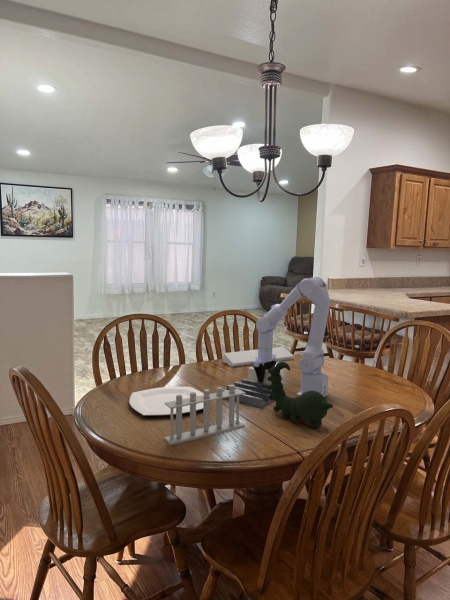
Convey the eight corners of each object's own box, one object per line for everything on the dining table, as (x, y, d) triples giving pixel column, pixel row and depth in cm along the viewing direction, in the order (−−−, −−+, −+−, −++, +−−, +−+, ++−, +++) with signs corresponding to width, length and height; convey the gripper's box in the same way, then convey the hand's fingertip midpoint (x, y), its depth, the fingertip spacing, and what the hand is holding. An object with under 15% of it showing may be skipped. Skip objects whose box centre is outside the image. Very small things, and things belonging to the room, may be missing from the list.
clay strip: (281, 387, 169) (281, 372, 169) (278, 389, 167) (278, 374, 167) (251, 380, 177) (251, 366, 177) (247, 382, 175) (248, 368, 175)
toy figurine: (262, 418, 143) (324, 437, 123) (260, 361, 142) (322, 372, 122) (282, 411, 149) (343, 429, 129) (280, 357, 148) (341, 367, 128)
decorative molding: (292, 364, 213) (281, 354, 221) (293, 356, 211) (282, 346, 220) (231, 372, 198) (222, 362, 206) (233, 363, 196) (223, 353, 204)
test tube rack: (237, 422, 135) (238, 381, 133) (245, 427, 131) (246, 385, 130) (164, 439, 122) (164, 395, 120) (170, 445, 118) (170, 399, 117)
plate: (124, 396, 157) (124, 391, 157) (194, 388, 167) (194, 383, 167) (136, 424, 133) (136, 418, 132) (218, 413, 142) (218, 408, 142)
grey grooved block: (282, 395, 160) (283, 387, 160) (261, 408, 147) (261, 399, 146) (242, 385, 170) (242, 378, 170) (218, 396, 157) (218, 389, 157)
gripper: (265, 342, 179) (264, 374, 180) (247, 349, 167) (246, 382, 169) (280, 345, 175) (279, 377, 176) (262, 351, 163) (261, 386, 165)
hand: (264, 380), depth 172 cm, fingers open, 5 cm apart
